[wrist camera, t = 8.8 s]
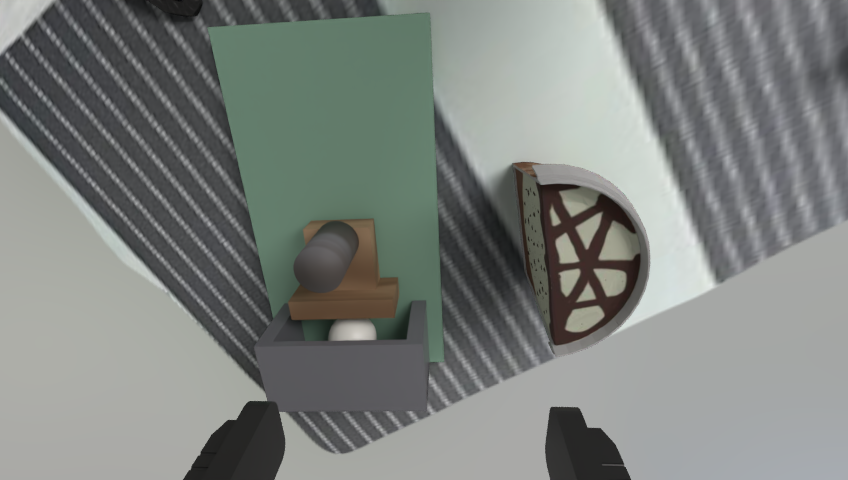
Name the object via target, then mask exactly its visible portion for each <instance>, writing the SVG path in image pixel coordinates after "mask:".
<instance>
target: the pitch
mask: <svg viewBox="0 0 848 480" xmlns="http://www.w3.org/2000/svg"><path fill="white" fill-rule="evenodd" d="M207 28H208V32H209V37H210V41H211V45H212V50H213V54H214V59H215V63H216V68H217V72H218V76H219V81H220V85H221V90H222V94H223V99H224V103H225V107H226V112H227V116H228V121H229V125H230V129H231V134H232V138H233V143H234V147H235V152H236V156H237V160H238V165H239V169H240V174H241V178H242V182H243V187H244V191H245V196H246V200H247V205H248V209H249V213H250V218H251V222H252V227H253V231H254V236H255V240H256V244H257V249H258V253H259V258H260V262H261V266H262V271H263V275H264V280H265V284H266V289H267V293H268V297H269V302H270V306H271V311H272V315H273V319H274V317H275V316H276V315H277V313H278V312H279V310H280V309H281V307H282V306H283V305H284V303H288V301H289V300H290V298H291V297H292V295H293V294H294V293H295V291H296V290H297V288H298V287H299V285H300V283H299V282H298V280H297V279H296V277H295V275H294V270H293V265H294V261H295V259H296V257H297V256H298V254H299V253H300V252H301V251H302V250H303V248H304V247H305V246H306V244H305V239H304V233H303V229H304V228H305V227H306V226H307V225H308V223H309V222H310V221H315V220H344V219H373V218H374V225H375V234H376V244H377V254H378V263H379V273H380V278H390V277H398V283H399V299H398V304H397V309H396V313H395V318H368V319H369V320H370V321H371V322H372V323H373V325H374V327H375V329H376V334H377V339H376V340H407V333H408V326H409V319H410V312H411V305H412V301H415V300H426V306H427V324H428V341H429V358H430V361H429V362H444V344H443V319H442V295H441V271H440V247H439V222H438V198H437V174H436V149H435V125H434V101H433V77H432V52H431V28H430V13H417V14H402V15H387V16H372V17H357V18H342V19H327V20H312V21H297V22H282V23H267V24H252V25H237V26H222V27H207ZM336 320H337V319H315V320H301V322H302V327H303V332H304V337H305V341H328V335H329V331H330V328H331V326H332V325H333V323H334V322H335V321H336Z"/></svg>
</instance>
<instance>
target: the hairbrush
mask: <svg viewBox="0 0 848 480" xmlns="http://www.w3.org/2000/svg"><path fill="white" fill-rule="evenodd" d="M147 1H149V2H150V3H152V4H153V5H155V6H156V7H158V8H159V9H161V10H162V11H164V12H167V13H171V14H175V15H181V16H197V14H198V13H199V10H200V8H201V5H202V0H183V1H182V2H179V1H174V0H147Z"/></svg>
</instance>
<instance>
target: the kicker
mask: <svg viewBox="0 0 848 480" xmlns="http://www.w3.org/2000/svg"><path fill="white" fill-rule="evenodd" d="M303 233H304V239H305V244H306V246H305V247H304V248H303V250H302V251H301V252H300V253H299V254H298V256H297V257H296V259H295V261H294V265H293V270H294V275H295V277H296V279H297V280H298V282H299V283H300V285H299V287H298V288H297V290H296V291H295V293H294V294H293V295H292V297H291V298H290V300H289V301H288V305H289V309H290V314H291V319H292V320H315V319H368V318H395V313H396V309H397V304H398V299H399V283H398V277H390V278H380V273H379V263H378V254H377V244H376V234H375V225H374V218H373V219H344V220H315V221H310V222H309V223H308V225H307V226H306V227H305V228H304V229H303Z"/></svg>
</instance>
